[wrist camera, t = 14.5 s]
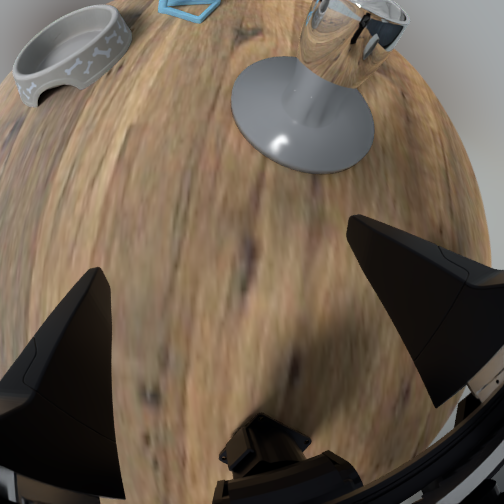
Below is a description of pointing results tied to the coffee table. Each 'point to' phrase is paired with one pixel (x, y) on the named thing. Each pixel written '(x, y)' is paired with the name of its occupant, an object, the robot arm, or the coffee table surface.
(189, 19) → the chair
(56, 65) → the dog bowl
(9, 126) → the coffee table surface
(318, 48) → the chrome tumbler cup
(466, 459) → the robot arm
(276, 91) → the coaster board
